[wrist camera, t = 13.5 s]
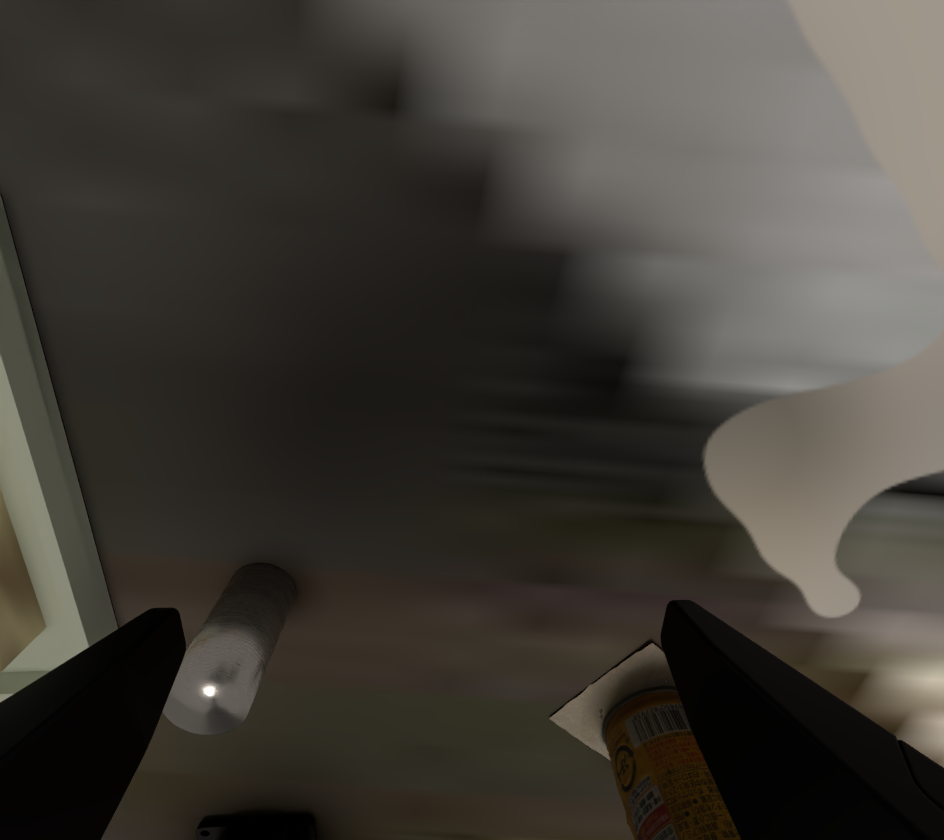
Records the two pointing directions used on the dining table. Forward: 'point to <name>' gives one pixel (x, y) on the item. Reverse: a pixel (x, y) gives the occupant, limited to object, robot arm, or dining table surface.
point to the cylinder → (231, 652)
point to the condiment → (650, 751)
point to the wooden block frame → (15, 595)
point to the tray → (43, 493)
